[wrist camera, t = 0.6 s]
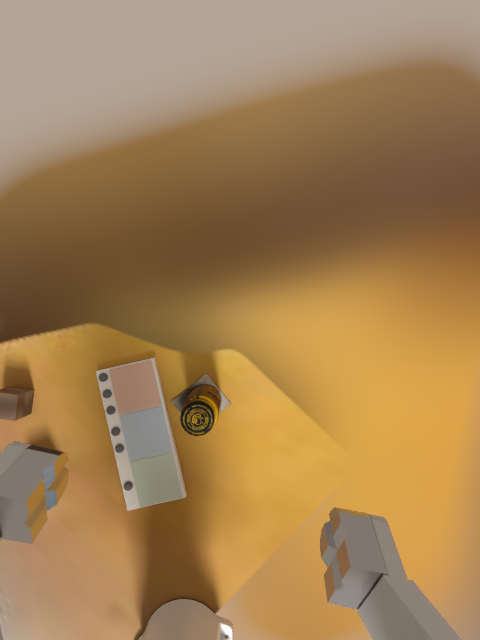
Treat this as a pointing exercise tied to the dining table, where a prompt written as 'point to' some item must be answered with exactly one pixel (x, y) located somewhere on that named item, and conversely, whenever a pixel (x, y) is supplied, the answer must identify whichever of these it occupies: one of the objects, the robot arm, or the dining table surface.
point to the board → (141, 434)
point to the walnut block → (15, 403)
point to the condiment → (200, 406)
